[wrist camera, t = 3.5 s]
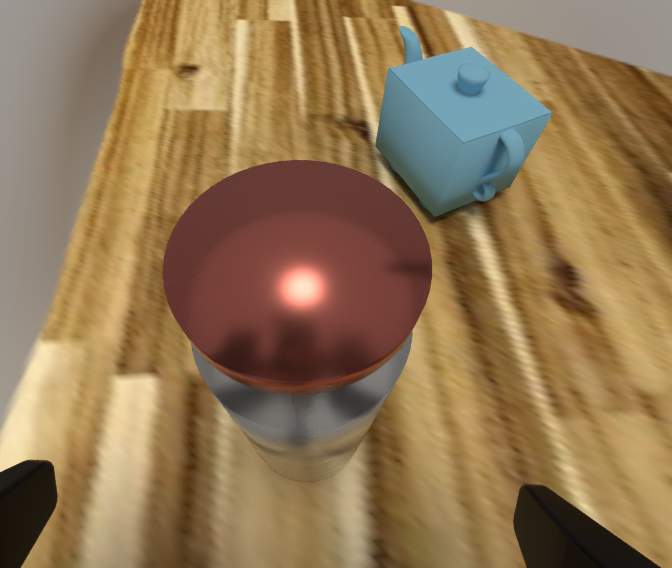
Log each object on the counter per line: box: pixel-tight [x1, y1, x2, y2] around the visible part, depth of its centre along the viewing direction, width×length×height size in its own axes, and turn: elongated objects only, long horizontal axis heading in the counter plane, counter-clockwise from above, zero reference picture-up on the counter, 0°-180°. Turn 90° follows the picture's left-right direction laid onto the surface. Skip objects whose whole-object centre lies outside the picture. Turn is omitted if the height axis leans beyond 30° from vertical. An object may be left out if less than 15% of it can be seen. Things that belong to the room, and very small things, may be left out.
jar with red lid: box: [163, 160, 432, 482], centre depth 13 cm, size 5×5×14 cm
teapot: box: [375, 26, 552, 217], centre depth 25 cm, size 12×6×8 cm, turn 28°
